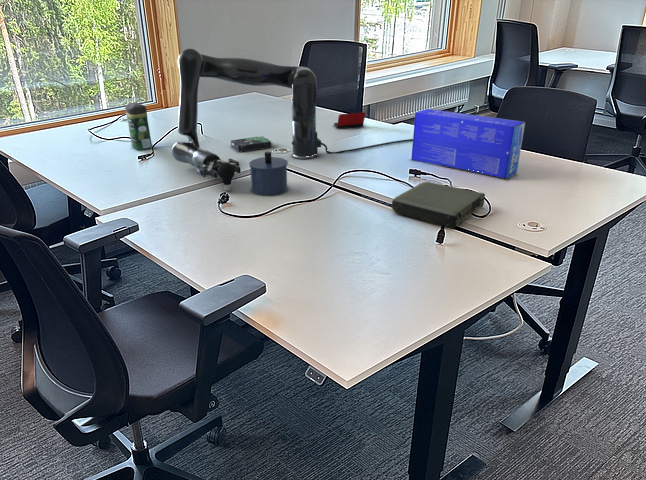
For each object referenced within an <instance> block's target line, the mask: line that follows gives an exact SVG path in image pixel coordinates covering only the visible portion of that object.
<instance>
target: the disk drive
mask: <svg viewBox="0 0 646 480" xmlns="http://www.w3.org/2000/svg"><path fill="white" fill-rule="evenodd" d="M230 146H231V147H232V148H233V149H234V150H235V151H237V152H240V153H242V152H248V151H256V150H262V149H267V148H268V149H269V148H272V141H271V140H269V139H268V138H266V137H264V136H253V137H246V138H238V139H232V140H230Z"/></svg>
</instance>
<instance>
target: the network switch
mask: <svg viewBox="0 0 646 480" xmlns="http://www.w3.org/2000/svg"><path fill="white" fill-rule="evenodd" d="M485 198H486V194H485V193H484V192H480V191H474V190H470V189H464V188H460V187H455V186H449V185H445V184H439V183H435V182H431V181H423V182H421V183H419V184H417V185H415V186H413V187H411V188H409V189H408V190H406V191H404V192H402V193H401V194H399V195H397V196H395V197H394V198H393V199H392V201H391V209H392V211H394V213H395V214H397V215H400V216H403V217H408V218H411V219H412V218H413V219H416V220H418V221H419V220H420V221H423V222H428V223H431V224H434V225H437V226H441V227H442V228H443V227H444V228H446V229H450V230H453V229H455V228H456V227H457V226H458V225H459V224H461V223H462V222H463V221H465V220H466V219H467V218H468V217H469V216H471V215H472V214H473V213H475V212H477V211H478V210H479V209H480V208H482V207H484V204H485ZM470 214H471V215H470ZM443 223H444V224H443ZM443 225H444V226H443Z"/></svg>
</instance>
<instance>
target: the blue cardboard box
mask: <svg viewBox="0 0 646 480" xmlns="http://www.w3.org/2000/svg"><path fill="white" fill-rule="evenodd" d="M413 122H414V123H413V136H412V139H413V141H412V147H411V160H412V161H415V162H420V163H425V164H429V165H435V166H439V167H440V166H441V167H444V168H450V169H455V170H460V171H464V172H471V173H475V174H482V175H487V176H490V177H491V176H492V177H497V178H502V179H504V180H508V179H510V178H511V177H513V176H515V175H516V174H517V172H518V168H519V163H520V156H521V150H522V143H523V139H524V132H525V127H526V122H525V121H522V120H521V121H520V120H513V119H506V118H498V117H490V116H484V115H477V114H469V113H460V112H453V111H447V110H439V109H432V108H424V109H422V110H418V111H416V112H414V121H413ZM468 169H469V170H468ZM473 170H474V171H473ZM477 171H479V172H477ZM482 172H483V173H482ZM491 174H492V175H491Z"/></svg>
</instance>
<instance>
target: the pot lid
mask: <svg viewBox="0 0 646 480" xmlns="http://www.w3.org/2000/svg"><path fill="white" fill-rule="evenodd" d="M288 163H289V162H288V160H287V159H286V158H282V157H278V156H272V152H271V151H264V157H263V156H262V157H258V158H255V159H251V160H250V161H249V163H248V166H249V167H250V169H251V168H254V169H258V170H275V169H280V168H283V167H285V166H286V165H287V166H288V165H289V164H288Z"/></svg>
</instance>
